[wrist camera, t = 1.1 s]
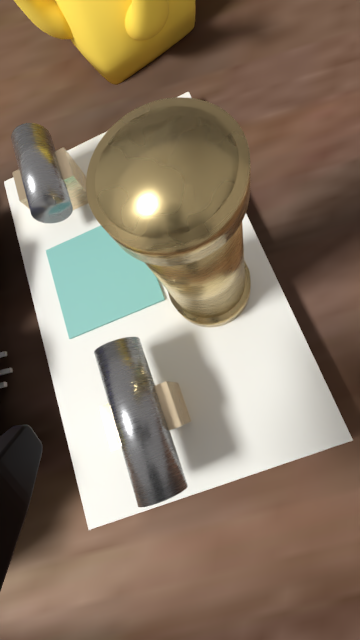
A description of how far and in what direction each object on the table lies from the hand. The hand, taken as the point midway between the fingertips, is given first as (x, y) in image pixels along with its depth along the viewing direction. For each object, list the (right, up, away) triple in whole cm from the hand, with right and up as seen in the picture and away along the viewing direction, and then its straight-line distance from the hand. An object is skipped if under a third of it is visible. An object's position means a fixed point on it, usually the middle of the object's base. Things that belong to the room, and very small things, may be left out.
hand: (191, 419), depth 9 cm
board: (-2, +5, +15) cm, 16 cm away
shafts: (-5, +4, +14) cm, 16 cm away
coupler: (+2, +5, +13) cm, 14 cm away
